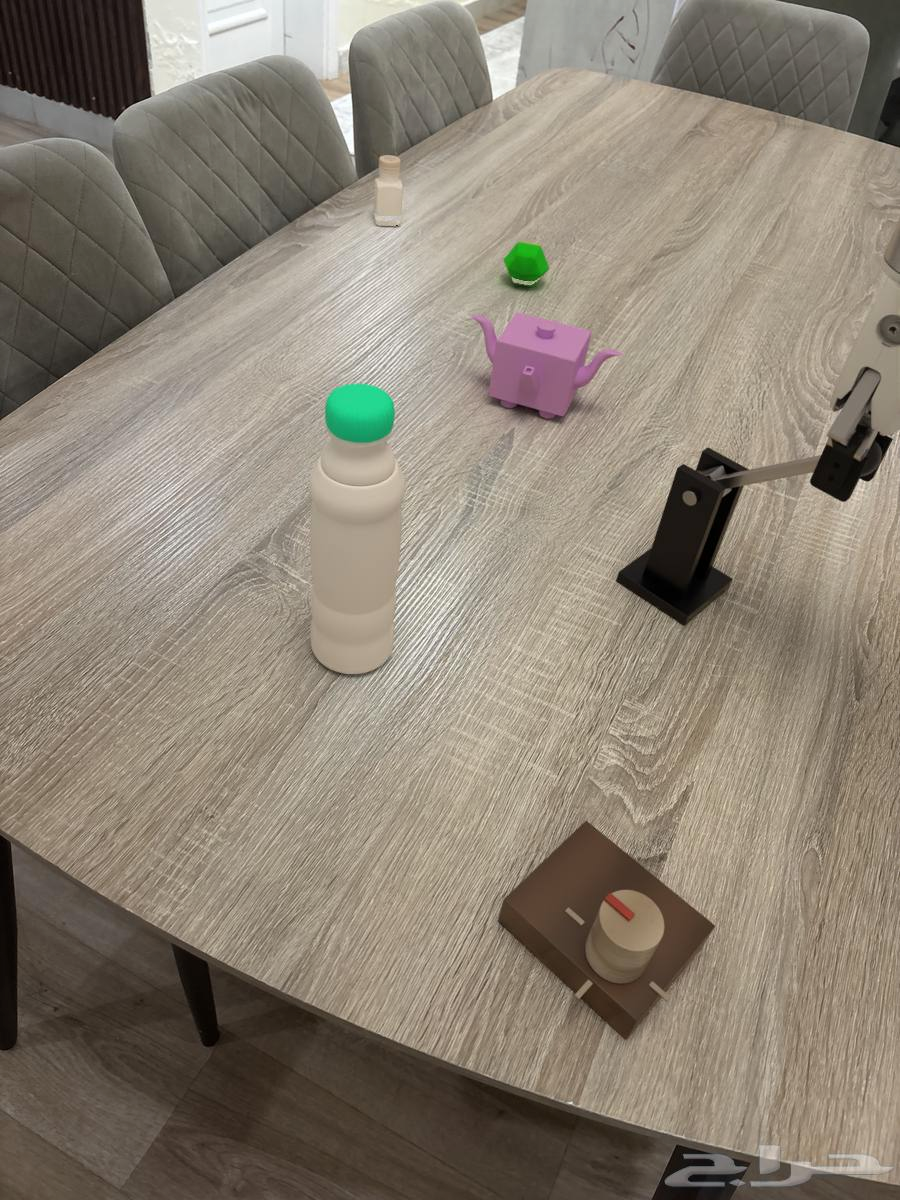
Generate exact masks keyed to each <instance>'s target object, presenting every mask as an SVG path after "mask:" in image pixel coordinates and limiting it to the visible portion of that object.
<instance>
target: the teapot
mask: <svg viewBox="0 0 900 1200" xmlns="http://www.w3.org/2000/svg"><path fill="white" fill-rule="evenodd" d="M470 316H471V318H472V319H474V320H475V321H476V322H477V323H478V324H479V325H480V327H481V329H482V332H483V338H484V345H485V351H486V354H487V355H486V356H487V357H488V359H489V361H490V362H491V364H492V368H491V375H490V382H489V383H490V384H489V387H488V388H489V389H488V394H487V395H488V396H489V397H492V398H495V399H499V400H500V405H501V406H503V407H504V408H507V409H513V408H516V407H517V406H518V405H520V406H524V407H527V408H531V409H534V410H538V414H539V416H540V417H541V418H543V419H548V420H549V419H550V420H551V419H554V418H555V417H556V416H560V417H565V415H566V413H567V412H568V410H569V407H570V406H571V403H572V402H573V399H574V398H575V396H576V394H577V392H578V390H579V389H580V388H583V387H586V386H587V385H588V384H590V383H591V381H592V380H594V378H595V377H596V375H597V374H598V371H599V370H600V369H601V367H602V365H603V363H605V362H606V361H607V360H608V359H610V358H613V357H619V356H621V355H622V353H623V352H621V351H619V350H615V349H609V348H606V349H602V350H600V351H598V352H597V354H595V355H594V357H593V359H592V360H591V362H589V364H588V365H585V364H586V360H587V356H588V351H589V346H590V342H591V338H592V333H593V332H592V330H589V329H586V328H585V329H584V328H581V327H577V326H574V325H570V324H566V323H562V322H559V321H557V320H551V319H546V318H543V317H538V316H534V315H531V314H530V315H529V314H526V313H522V312H519V311H516V313H514V315H513V317H512V318H511V319H510V321H509V323H508V324H507V326H506V327H505V329H504V330H503V331H502V333H501V334H500V335H499V336H498V338H497V336H496V335H497V334H496V332H495V327H494V325H493V323H492V322H491V320H490V319H489V318H488V317H485V316H484V315H481V314H477V313H471V314H470Z"/></svg>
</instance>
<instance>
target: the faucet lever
mask: <svg viewBox="0 0 900 1200" xmlns="http://www.w3.org/2000/svg"><path fill="white" fill-rule="evenodd" d="M861 436H862V438H863V436H864V434H861ZM821 455H822V454H819V455H815V456H814V455H813V456H810V457H809V456H808V457H805V458H800V459H795V460H790V461H785V462H780V463H775V464H771V465H765V466H761V467H756V468H751V469H749V470H745V471H741V472H736V473H731V474H726V473H725V470H724V467H723V466H719V467H714V468H709V469H705V470H700V471H697V472H699V473H701V474H703V475H704V476H706V477H708V478H710V479H712V480H713V481H715V482H717V483H719V484H720V485H722V486H724V487H725V488H726V489H725V491H724V494H723V496H725V495H726V494H728V493H729V492H730V491H731V490H732V489H731V488H734V487H739V486H744V487H745V486H749V485H755V484H760V483H765V482H770V481H775V480H780V479H781V480H782V479H786V478H791V477H797V476H801V475H807V474H811V473H812V474H813V472H814V470H815V468H816V466H817V463H818V461H819V459H820V457H821ZM866 457H868V458H869V460H868V462H867V465H866V467H865V469H864V471H863V473H862V475H861V476H865V475H868V474H870V473H871V472H873V471H874V470H875V469H876V468H877V467H878V465H879V463H880V461H881V457H882V451H881V447H880V445H879V443H878V442H877V441H876V440H875V439H874V441H873V443H872V445H871V447H870V449H869V450H868V452H867V454H866Z"/></svg>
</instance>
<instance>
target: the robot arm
mask: <svg viewBox="0 0 900 1200" xmlns="http://www.w3.org/2000/svg"><path fill="white" fill-rule="evenodd" d="M880 267H881V269H882V271H883V272H884V273H885V274H886V275H887V277H886V279H885V281H884V283H883V284H882V287H881V288H880V290H879V293H878V294H877V296H876V298H875V300H874V302H873V303H872V305H871V308H870V310H869V312H868V314H867V316H866V318H865V320H864V321H863V324H862V326H861V328H860V330H859V332H858V334H857V336H856V338H855V340H854V342H853V345H852V347H851V349H850V351H849V353H848V355H847V357H846V359H845V362H844V364H843V366H842V368H841V370H840V373H839V375H838V377H837V380H836V383H835V385H834V387H833V391H832V392H831V396H830V399H829V406H830V408H831V411H832V412H834V413H836V412H839V413H838V415H837V416H836V418H835V420H834V421H833V423H832V425H831V426H830V428H829V430H828V431H827V434H826V437H828V438H827V440H826V443H825V446H824V448H823V451H822V452H821V454H820V455H821V457H820V459H819V461H818V463H817V466H816V468H815V470H814V472H813V473H812V475H811V476H810V479H809V483H810V485H811V486H812V487H814V488H815V489H817V490H819V491H822V493H825V494H826V495H828V496H829V497H830V496H831V497H833V498H834V499H836V500H837V501H840V502H841V503H845V502H847V501H848V500H849V499H850V498H851V497H852V495H853V493H854V491H855V489H856V488H857V485H858V482H859V481H860V480H861V481H864V482H871V481H872V480H873V479H874V478H875V476H876V474H877V472H878V470H879V468H880V466H881V464H882V462H883V460H884V459H885V456H886V454H887V452H888V450H889V449H890V446H891V444H892V442H893V440H894V438H892V436H893V435H895V434H896V433H897V432H898V431H900V217H898V220H897V222H896V224H895V227H894V229H893V232H892V234H891V236H890V239H889V241H888V244H887V246H886V248H885V251H884V253H883V255H882V257H881V259H880ZM861 434H864V436H863V438H862V436H861ZM874 439H875V440H876V441H877V442H878V443H879V445H880V447H881V451H882V457H881V461H880V463H879V465H878V467H877V468H876V469H875V470H874V471H873V472H871V473H870V474H868V475H865V476H861V475H862V473H863V471H864V469H865V467H866V465H867V462H868V460H869V458H868V457H866V454H867V452H868V450H869V449H870V447H871V445H872V443H873V441H874Z"/></svg>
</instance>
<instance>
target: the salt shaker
mask: <svg viewBox="0 0 900 1200" xmlns="http://www.w3.org/2000/svg"><path fill="white" fill-rule="evenodd" d="M401 161H402V160H401V158H400V157H399V156H397V155H391V154H384V155H381V156H380V157H379V158H378V177H375V179H374V192H373V211H374V210H375V214H376V215H378V216H399V215H401V216H402V211H403V210H402V208H403V195H404V194H403V192H404V187H403V182H402V180H401V178H400V173H401V164H402V163H401ZM373 218H374V223H375V225H376V226H378V227H379V226H380V227H400V225H401V223H399V224H400V225H398V224H397V223H395V222H392V221H377V220H376V219H375V216H374V215H373ZM395 224H396V225H398V226H396V225H395Z"/></svg>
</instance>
